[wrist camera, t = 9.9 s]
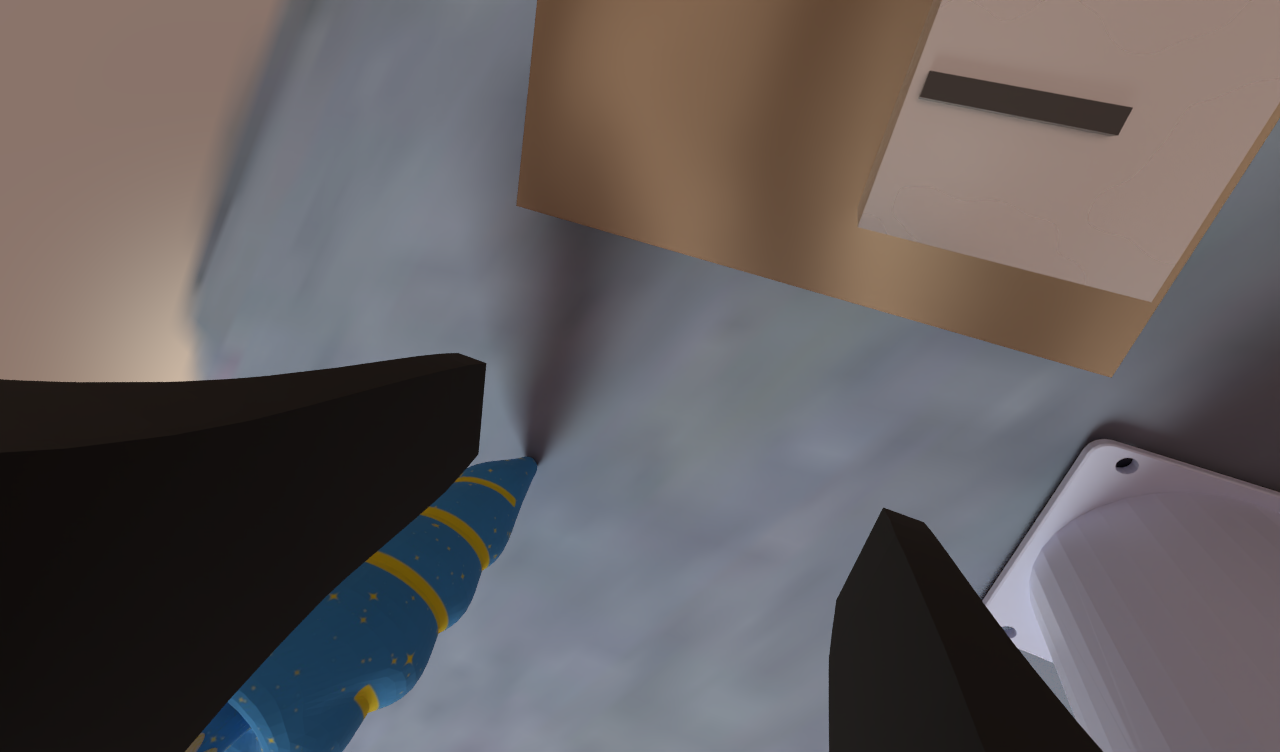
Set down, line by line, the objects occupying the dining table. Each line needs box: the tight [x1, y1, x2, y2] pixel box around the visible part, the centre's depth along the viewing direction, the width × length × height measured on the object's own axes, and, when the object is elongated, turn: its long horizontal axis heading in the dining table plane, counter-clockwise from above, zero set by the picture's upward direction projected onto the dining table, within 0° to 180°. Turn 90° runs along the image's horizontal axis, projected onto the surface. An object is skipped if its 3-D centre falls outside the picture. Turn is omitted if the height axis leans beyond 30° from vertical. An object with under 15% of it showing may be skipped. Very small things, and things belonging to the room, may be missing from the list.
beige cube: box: [857, 0, 1280, 302], centre depth 11 cm, size 5×5×5 cm
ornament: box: [185, 457, 537, 752], centre depth 18 cm, size 5×5×15 cm
